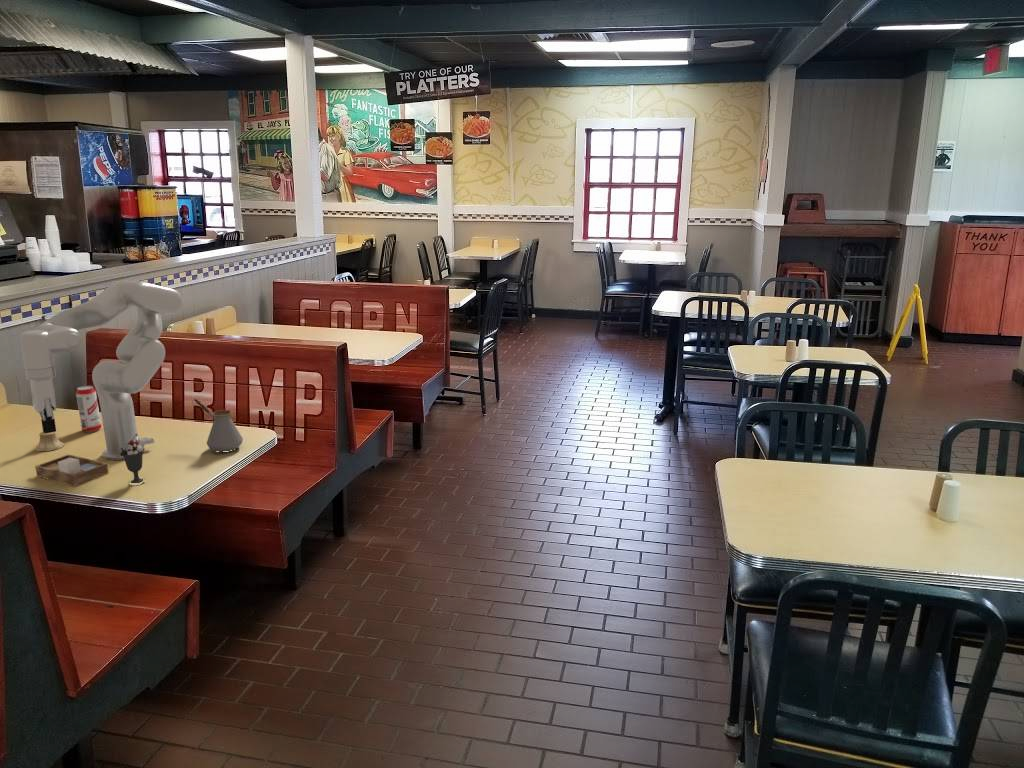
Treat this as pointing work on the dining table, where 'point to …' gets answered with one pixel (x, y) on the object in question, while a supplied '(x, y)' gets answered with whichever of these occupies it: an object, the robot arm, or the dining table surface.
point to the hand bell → (48, 442)
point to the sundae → (133, 458)
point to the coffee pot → (222, 431)
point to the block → (69, 466)
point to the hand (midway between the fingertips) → (49, 431)
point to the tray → (53, 473)
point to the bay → (87, 466)
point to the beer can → (88, 408)
